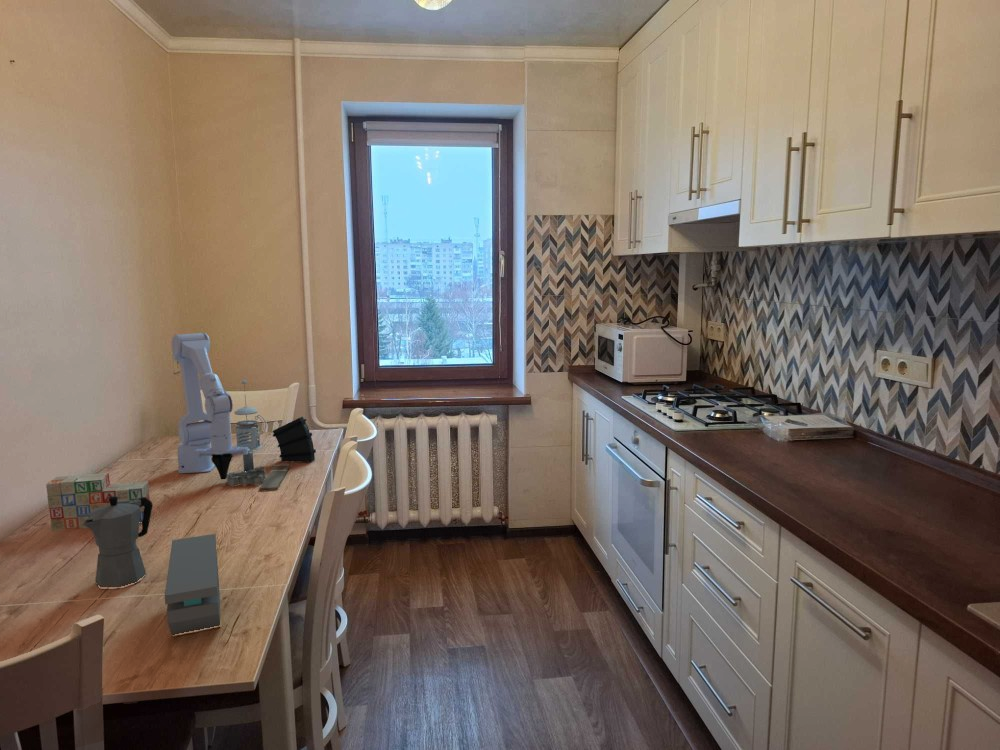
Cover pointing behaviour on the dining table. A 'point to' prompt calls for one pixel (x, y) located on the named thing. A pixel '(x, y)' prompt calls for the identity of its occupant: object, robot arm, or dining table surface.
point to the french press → (248, 428)
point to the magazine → (295, 441)
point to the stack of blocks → (87, 497)
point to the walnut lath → (275, 477)
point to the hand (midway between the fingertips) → (223, 478)
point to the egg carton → (247, 477)
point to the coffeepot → (119, 541)
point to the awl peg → (248, 461)
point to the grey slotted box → (193, 585)
